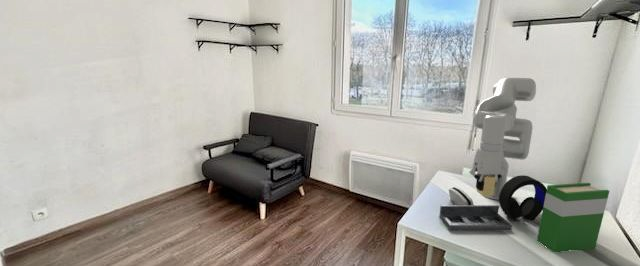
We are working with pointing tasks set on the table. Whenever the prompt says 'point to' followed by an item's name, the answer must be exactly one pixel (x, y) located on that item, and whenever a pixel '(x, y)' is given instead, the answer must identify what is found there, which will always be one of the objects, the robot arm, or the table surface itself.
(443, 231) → the table surface
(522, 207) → the headphones
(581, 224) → the hardback book
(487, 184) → the brass peg
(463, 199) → the white game console
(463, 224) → the grey slotted rack
